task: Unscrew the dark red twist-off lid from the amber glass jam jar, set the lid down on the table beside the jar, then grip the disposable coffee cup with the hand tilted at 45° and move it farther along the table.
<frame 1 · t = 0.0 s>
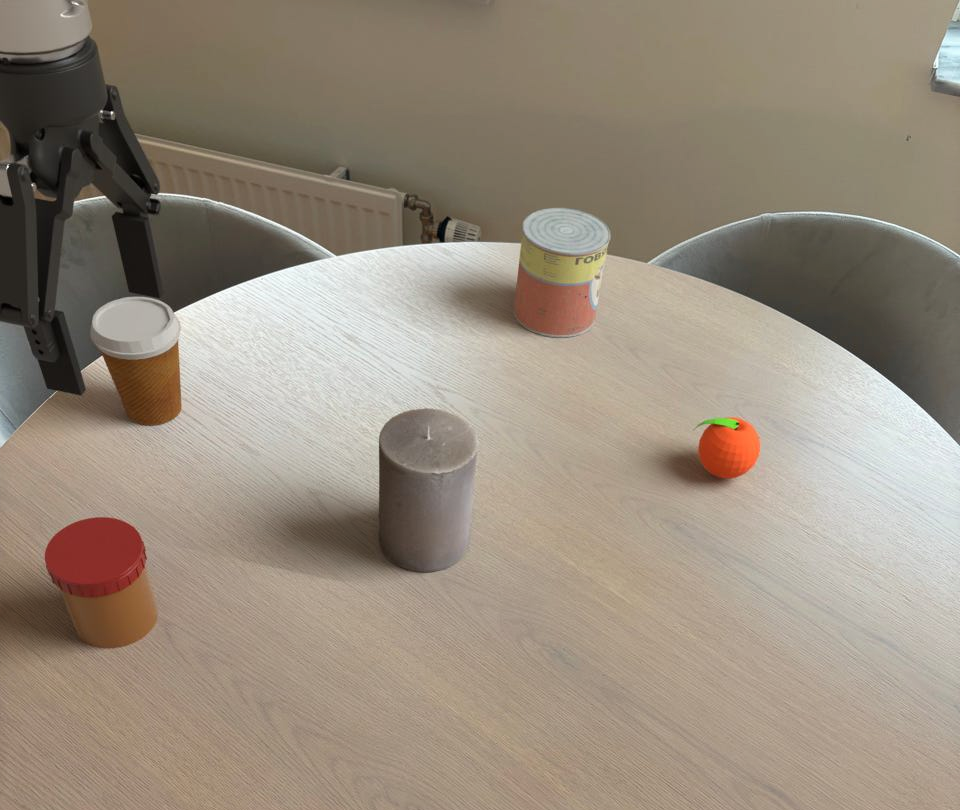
hand: (108, 338, 77), 28 cm above the table, tool pointing down, fingers open, 13 cm apart
canned food: (554, 315, 134), on the table
pillar candle: (424, 541, 105), on the table
lid: (95, 552, 86), point 11 cm above the table, screwed on, not yet turned
clementine: (716, 471, 116), on the table
jam jar: (120, 629, 94), on the table
disposable coffee cup: (154, 410, 116), on the table
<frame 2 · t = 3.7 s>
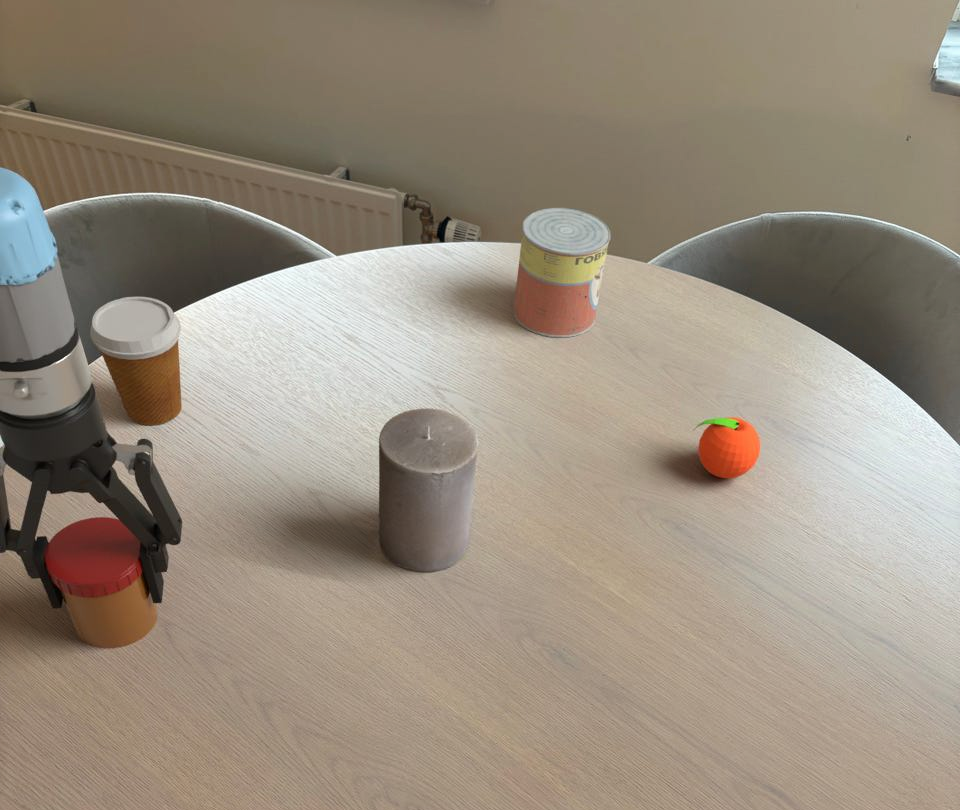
hand: (109, 594, 90), 5 cm above the table, tool pointing down, fingers closed on lid, 8 cm apart
lid: (95, 552, 86), point 11 cm above the table, screwed on, not yet turned, touching gripper
everything else where it was.
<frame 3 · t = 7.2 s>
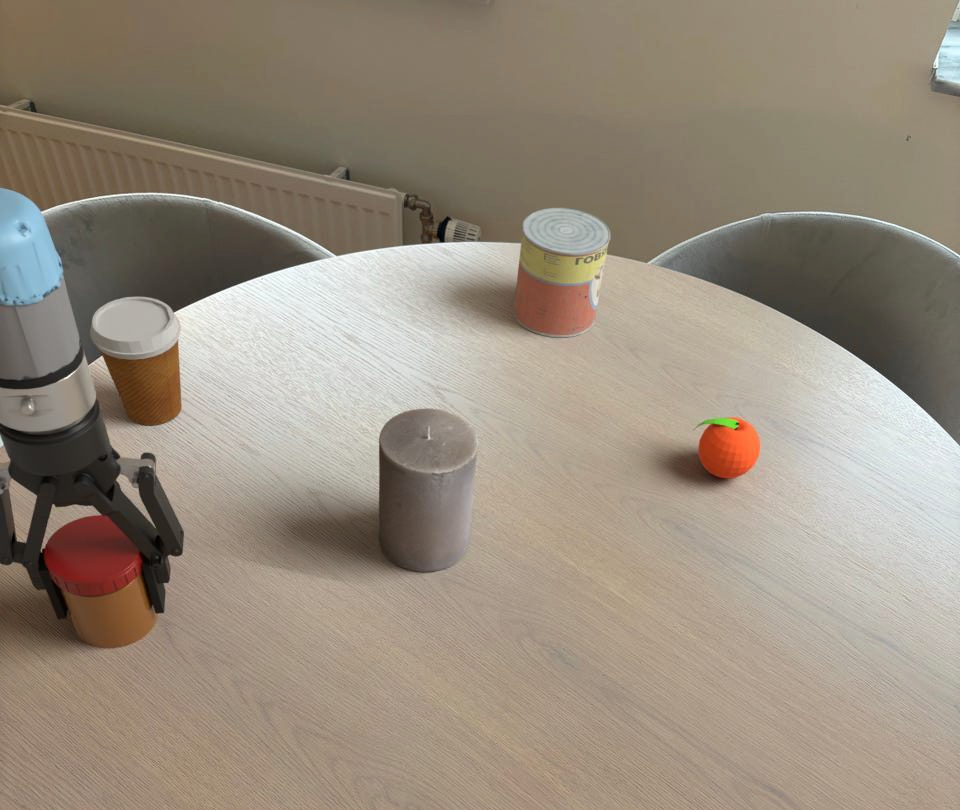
hand: (112, 605, 92), 4 cm above the table, tool pointing down, fingers closed on lid, 8 cm apart
lid: (94, 550, 86), point 11 cm above the table, turned 87° so far, risen 0.2 cm, still on its thread, touching gripper
everything else where it was.
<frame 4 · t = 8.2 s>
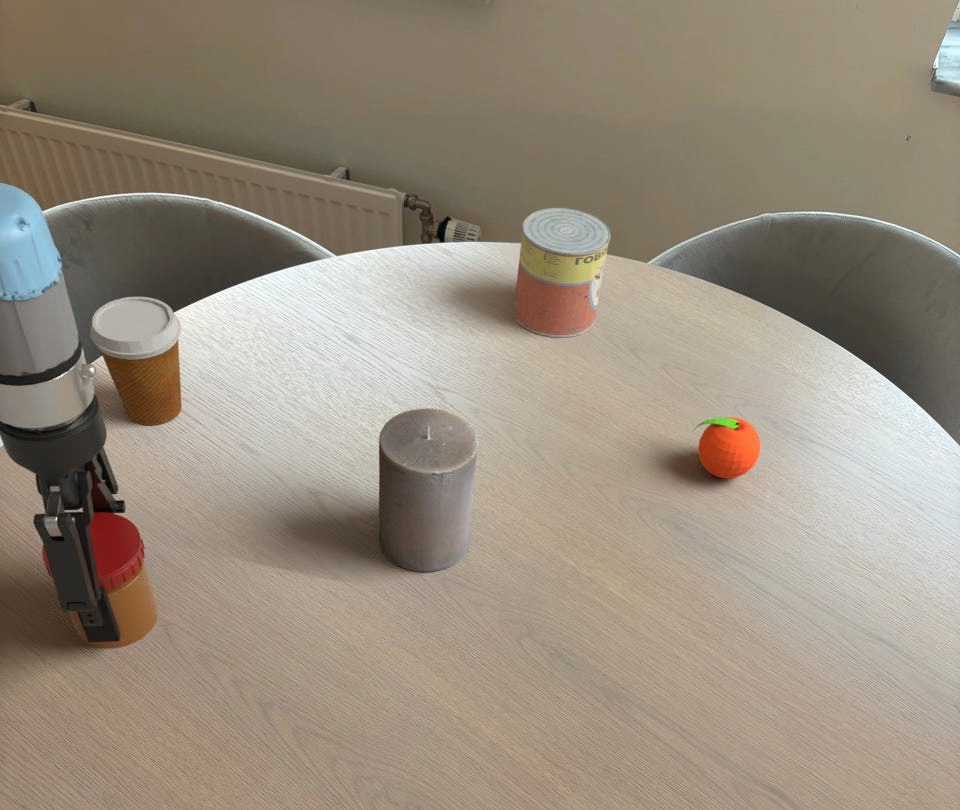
hand: (111, 602, 91), 4 cm above the table, tool pointing down, fingers closed on lid, 8 cm apart
lid: (92, 547, 86), point 11 cm above the table, off its thread, touching gripper
everything else where it was.
when the fingers open (1 cm above the table, at t = 14.9 s): lid drops 6 cm, point 1 cm above the table.
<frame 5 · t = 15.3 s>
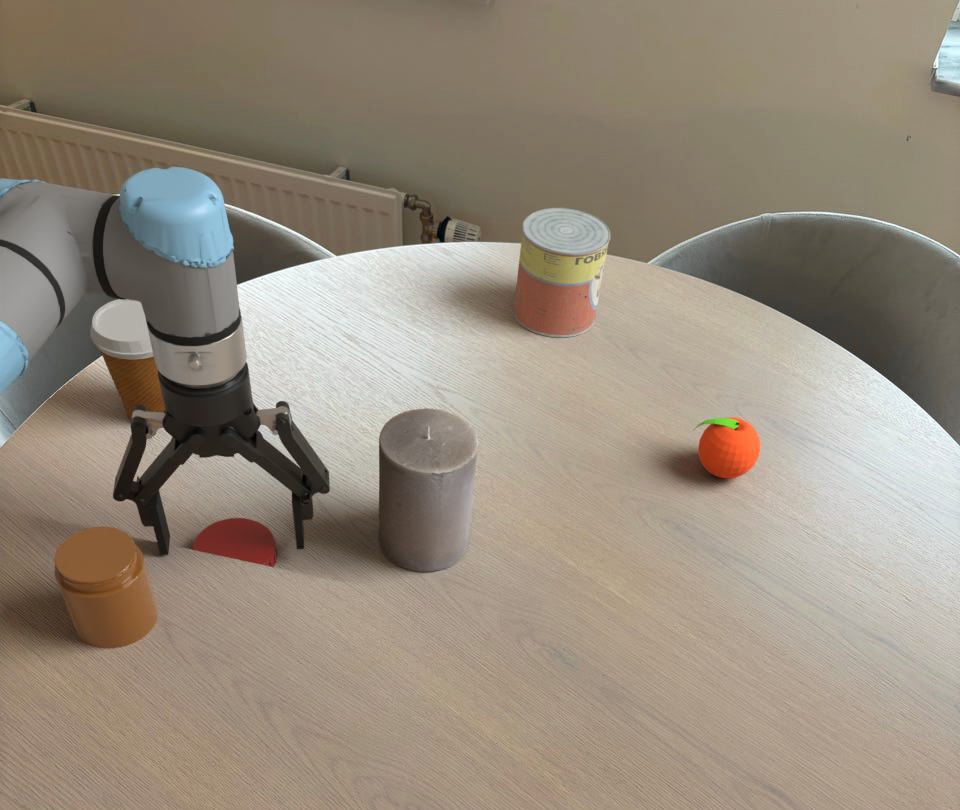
hand: (233, 542, 100), 2 cm above the table, tool pointing down, fingers open, 13 cm apart
lid: (234, 548, 100), point 1 cm above the table, off its thread
everything else where it was.
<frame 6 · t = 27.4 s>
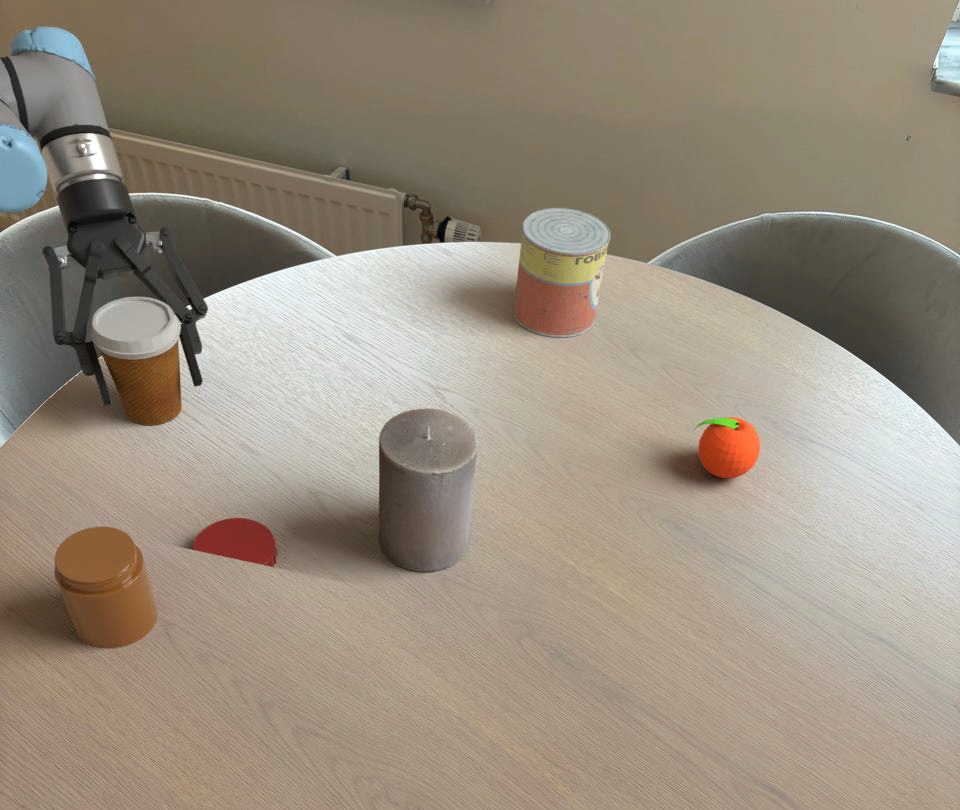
hand: (153, 393, 110), 4 cm above the table, tool tilted 45°, fingers closed on disposable coffee cup, 9 cm apart
disposable coffee cup: (154, 410, 116), on the table, touching gripper
everything else where it was.
when the fingers open (4 cm above the table, at t = 33.6 s): disposable coffee cup stays where it is, on the table.
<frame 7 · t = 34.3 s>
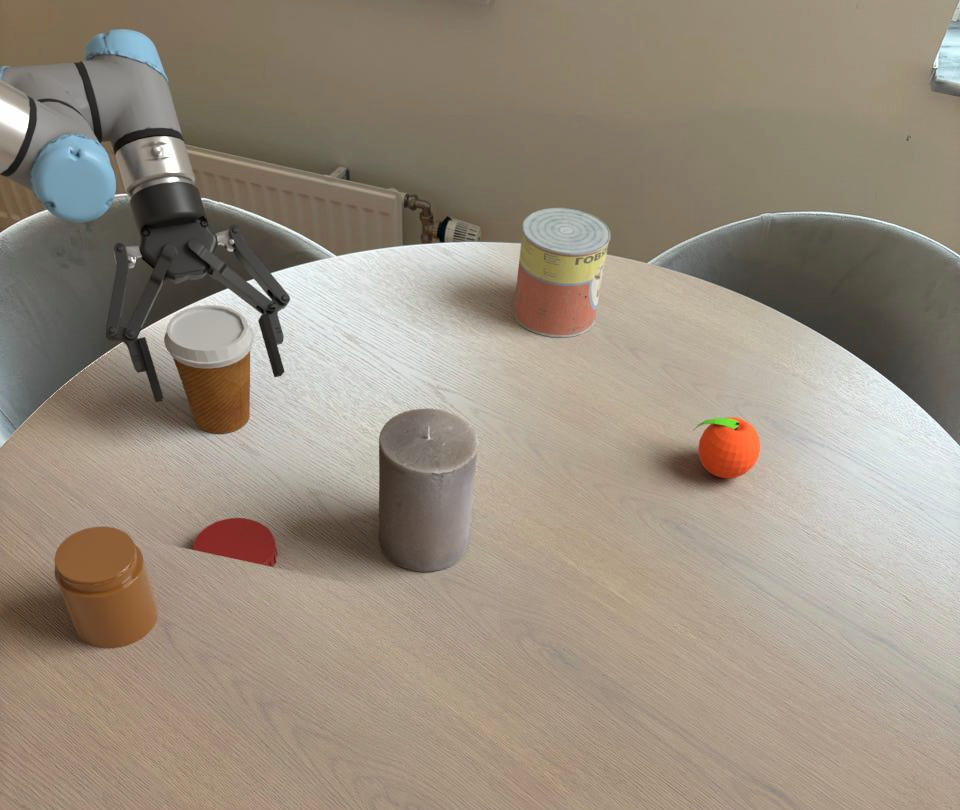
hand: (220, 387, 110), 6 cm above the table, tool tilted 45°, fingers open, 13 cm apart
disposable coffee cup: (222, 418, 115), on the table
everything else where it was.
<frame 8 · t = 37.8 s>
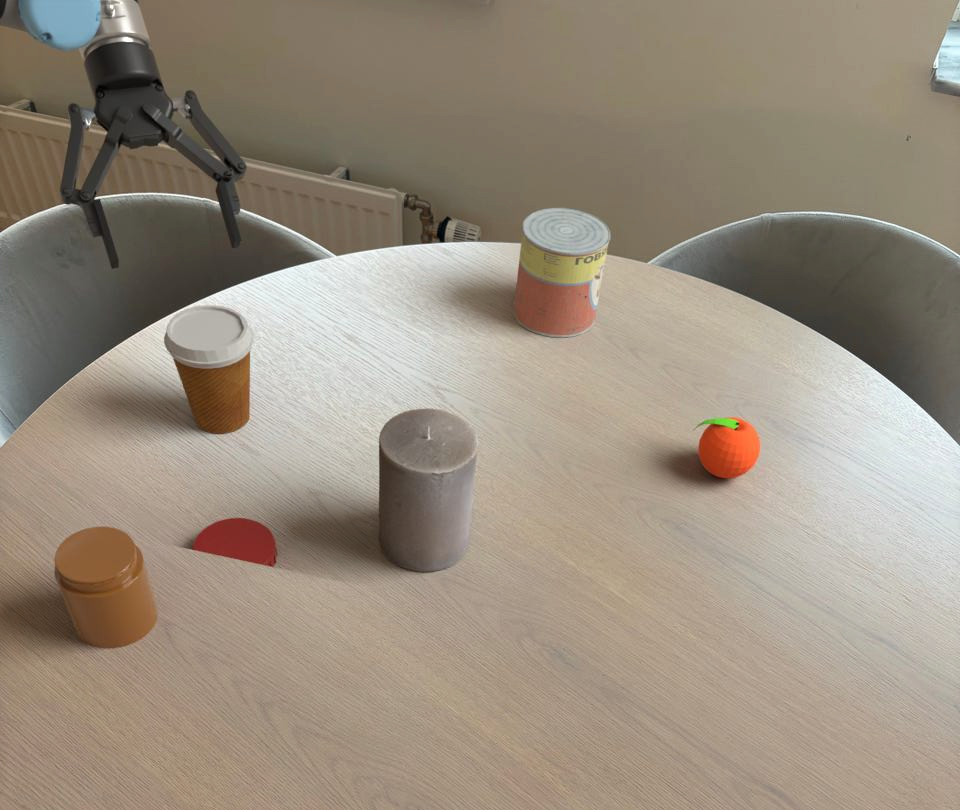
hand: (177, 254, 110), 15 cm above the table, tool tilted 45°, fingers open, 13 cm apart
nothing on the table moved.
at the end: lid came off its thread; lid point 1.4 cm above the table; disposable coffee cup inside the target area (0.1 cm from its centre), on the table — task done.
